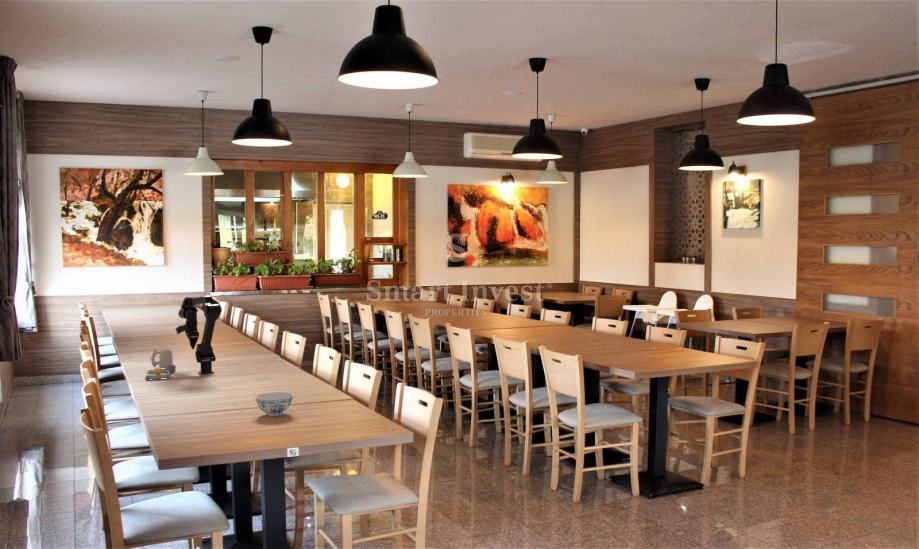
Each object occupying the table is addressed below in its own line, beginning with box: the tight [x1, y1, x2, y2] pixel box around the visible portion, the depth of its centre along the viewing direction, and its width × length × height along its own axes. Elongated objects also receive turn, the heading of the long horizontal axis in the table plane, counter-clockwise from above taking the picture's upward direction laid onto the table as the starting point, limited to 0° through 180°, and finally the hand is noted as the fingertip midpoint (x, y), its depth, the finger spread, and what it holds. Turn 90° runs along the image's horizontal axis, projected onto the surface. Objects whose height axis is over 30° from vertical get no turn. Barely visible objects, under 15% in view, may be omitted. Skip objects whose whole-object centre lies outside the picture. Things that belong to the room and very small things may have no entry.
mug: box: [150, 347, 175, 368], centre depth 435 cm, size 8×12×12 cm, turn 120°
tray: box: [146, 369, 171, 381], centre depth 408 cm, size 15×11×2 cm
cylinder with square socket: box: [164, 364, 177, 374], centre depth 421 cm, size 5×5×4 cm
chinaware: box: [255, 391, 294, 417], centre depth 320 cm, size 15×15×8 cm
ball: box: [153, 367, 163, 375], centre depth 407 cm, size 4×4×4 cm
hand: (192, 348), depth 431 cm, fingers open, 9 cm apart
